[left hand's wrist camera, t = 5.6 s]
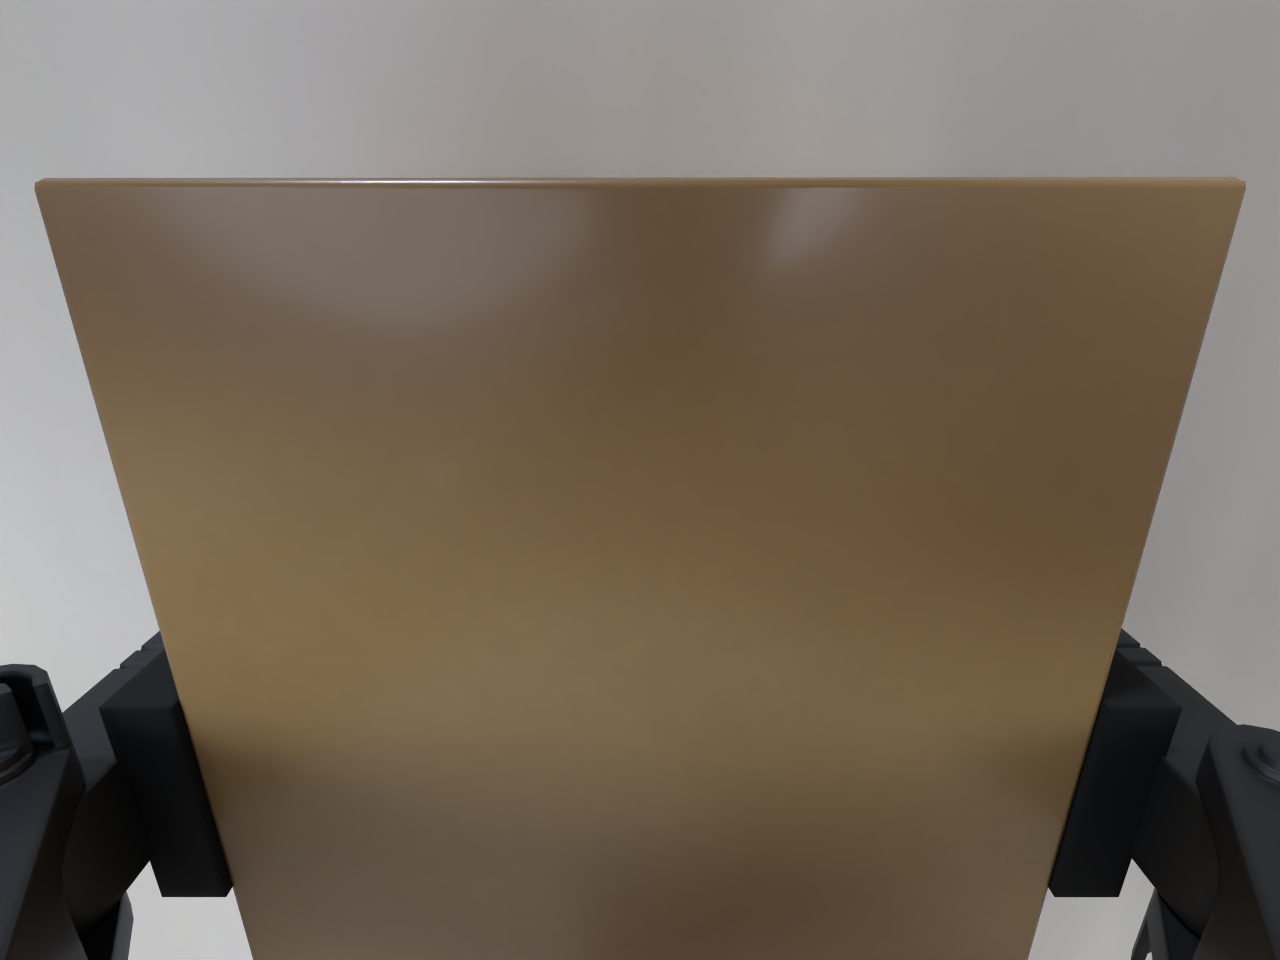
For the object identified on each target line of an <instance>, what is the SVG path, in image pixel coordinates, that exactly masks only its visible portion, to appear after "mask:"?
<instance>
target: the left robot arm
mask: <svg viewBox="0 0 1280 960" xmlns="http://www.w3.org/2000/svg"><path fill="white" fill-rule="evenodd" d="M1131 859H1133V860H1134V861H1135V863H1136V864H1137V865H1138V866H1139V868H1140V869H1141V870H1142V872H1143V873H1144V874H1145V875H1146V877H1147V878H1148V879H1149V881H1150V882H1151V883H1152V884H1153V886H1154V887H1155V889H1154V892H1153V895H1152V897H1151V900H1150V903H1149V906H1148V908H1147V911H1146V914H1145V917H1144V919H1143V922H1142V925H1141V928H1140V931H1139V933H1138V936H1137V939H1136V942H1135V944H1134V947H1133V950H1132V956H1131V960H1145V959H1146V956H1147V954H1148V953H1150V952H1152V959H1153V960H1280V732H1278V731H1275V730H1273V729H1267V728H1262V727H1256V726H1250V725H1236V724H1235V723H1234V722H1233V721H1232V720H1230V719H1229V718H1228V717H1227V716H1226V715H1224V714H1223V713H1222V712H1221V711H1220V710H1218V709H1217V708H1216V707H1215V706H1214V705H1213V704H1211V703H1210V702H1209V701H1208V700H1207V699H1205V698H1204V697H1203V696H1202V695H1201V694H1199V693H1198V692H1197V691H1196V690H1195V689H1193V688H1192V687H1191V686H1190V685H1189V684H1187V683H1186V682H1185V681H1184V680H1183V679H1181V678H1180V677H1179V676H1178V675H1177V674H1175V673H1174V672H1173V671H1172V670H1171V669H1170V668H1168V667H1167V666H1162V664H1161V661H1160V660H1159V659H1158V658H1156V657H1155V656H1154V655H1153V654H1152V653H1150V652H1149V651H1148V650H1147V649H1146V648H1140V643H1138V642H1137V641H1136V640H1135V639H1134V638H1132V637H1131V636H1130V635H1129V634H1128V633H1126V632H1125V631H1124V630H1123V629H1122V628H1121V631H1120V634H1119V638H1118V641H1117V645H1116V648H1115V652H1114V656H1113V659H1112V663H1111V666H1110V670H1109V673H1108V677H1107V680H1106V684H1105V687H1104V691H1103V694H1102V698H1101V701H1100V705H1099V709H1098V712H1097V716H1096V719H1095V723H1094V726H1093V730H1092V733H1091V737H1090V740H1089V744H1088V747H1087V751H1086V754H1085V758H1084V762H1083V765H1082V769H1081V772H1080V776H1079V779H1078V783H1077V786H1076V790H1075V793H1074V797H1073V800H1072V804H1071V808H1070V811H1069V815H1068V818H1067V822H1066V825H1065V829H1064V832H1063V836H1062V839H1061V843H1060V846H1059V850H1058V853H1057V857H1056V861H1055V864H1054V868H1053V871H1052V875H1051V878H1050V882H1049V885H1048V887H1049V889H1050V890H1051V892H1052V894H1053V895H1054V897H1119V894H1120V891H1121V888H1122V885H1123V882H1124V879H1125V876H1126V874H1127V871H1128V868H1129V865H1130V862H1131ZM149 861H150V862H151V865H152V868H153V871H154V874H155V877H156V880H157V883H158V886H159V889H160V892H161V895H162V897H226V896H227V895H228V893H229V891H230V890H231V888H232V887H233V886H232V883H231V879H230V876H229V872H228V868H227V865H226V861H225V858H224V854H223V851H222V847H221V844H220V840H219V837H218V833H217V830H216V826H215V823H214V819H213V816H212V812H211V809H210V805H209V802H208V798H207V795H206V791H205V788H204V784H203V780H202V777H201V773H200V770H199V766H198V763H197V759H196V756H195V752H194V749H193V745H192V742H191V738H190V735H189V731H188V728H187V724H186V721H185V717H184V714H183V710H182V707H181V703H180V700H179V696H178V692H177V689H176V685H175V682H174V678H173V675H172V671H171V668H170V664H169V661H168V657H167V654H166V650H165V647H164V643H163V640H162V636H161V633H160V631H159V632H158V633H157V634H155V635H154V636H153V637H152V638H151V639H149V640H148V641H147V642H146V643H145V644H144V645H142V649H141V651H135V652H134V653H133V654H132V655H131V656H129V657H128V658H127V659H126V660H125V661H123V662H122V663H121V664H120V668H119V669H114V670H113V671H112V672H110V673H109V674H108V675H107V676H106V677H104V678H103V679H102V680H101V681H100V682H99V683H97V684H96V685H95V686H94V687H93V688H91V689H90V690H89V691H88V692H87V693H85V694H84V695H83V696H82V697H81V698H80V699H78V700H77V701H76V702H75V703H74V704H72V705H71V706H70V707H69V708H68V709H66V710H65V711H64V712H63V713H62V712H61V709H60V706H59V704H58V701H57V698H56V695H55V692H54V690H53V687H52V684H51V681H50V679H49V676H48V673H47V671H45V670H43V669H41V668H39V667H37V666H35V665H24V664H9V665H2V666H0V960H128V954H129V947H130V940H131V933H132V926H133V913H132V907H131V903H130V900H129V897H128V895H127V892H126V890H127V889H128V888H129V887H130V885H131V884H132V883H133V881H134V880H135V879H136V878H137V876H138V875H139V874H140V872H141V871H142V870H143V868H144V867H145V866H146V865H147V863H148V862H149Z"/></svg>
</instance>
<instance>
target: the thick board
mask: <svg viewBox="0 0 1280 960" xmlns="http://www.w3.org/2000/svg"><path fill="white" fill-rule="evenodd" d="M1245 189H1246V187H1245V182H1244V181H1242V180H1240V179H1238V178H1236V177H1060V178H44V179H42V180H40V181H38V182H36V183H35V193H36V196H37V200H38V203H39V207H40V210H41V214H42V217H43V221H44V224H45V228H46V231H47V235H48V238H49V242H50V245H51V249H52V252H53V256H54V259H55V263H56V267H57V270H58V274H59V277H60V281H61V284H62V288H63V291H64V295H65V298H66V302H67V305H68V309H69V312H70V316H71V319H72V323H73V326H74V330H75V333H76V337H77V340H78V344H79V347H80V351H81V355H82V358H83V362H84V365H85V369H86V372H87V376H88V379H89V383H90V386H91V390H92V393H93V397H94V400H95V404H96V407H97V411H98V414H99V418H100V421H101V425H102V428H103V432H104V436H105V439H106V443H107V446H108V450H109V453H110V457H111V460H112V464H113V467H114V471H115V474H116V478H117V481H118V485H119V488H120V492H121V495H122V499H123V502H124V506H125V509H126V513H127V516H128V520H129V524H130V527H131V531H132V534H133V538H134V541H135V545H136V548H137V552H138V555H139V559H140V562H141V566H142V569H143V573H144V576H145V580H146V583H147V587H148V590H149V594H150V597H151V601H152V604H153V608H154V612H155V615H156V619H157V622H158V626H159V629H160V633H161V636H162V640H163V643H164V647H165V650H166V654H167V657H168V661H169V664H170V668H171V671H172V675H173V678H174V682H175V685H176V689H177V692H178V696H179V700H180V703H181V707H182V710H183V714H184V717H185V721H186V724H187V728H188V731H189V735H190V738H191V742H192V745H193V749H194V752H195V756H196V759H197V763H198V766H199V770H200V773H201V777H202V780H203V784H204V788H205V791H206V795H207V798H208V802H209V805H210V809H211V812H212V816H213V819H214V823H215V826H216V830H217V833H218V837H219V840H220V844H221V847H222V851H223V854H224V858H225V861H226V865H227V868H228V872H229V876H230V879H231V883H232V886H233V890H234V893H235V897H236V900H237V904H238V907H239V911H240V914H241V918H242V921H243V925H244V928H245V932H246V935H247V939H248V942H249V946H250V949H251V953H252V957H253V960H1028V956H1029V952H1030V949H1031V945H1032V942H1033V938H1034V935H1035V931H1036V928H1037V924H1038V921H1039V917H1040V914H1041V910H1042V906H1043V903H1044V899H1045V896H1046V892H1047V889H1048V885H1049V882H1050V878H1051V875H1052V871H1053V868H1054V864H1055V861H1056V857H1057V853H1058V850H1059V846H1060V843H1061V839H1062V836H1063V832H1064V829H1065V825H1066V822H1067V818H1068V815H1069V811H1070V808H1071V804H1072V800H1073V797H1074V793H1075V790H1076V786H1077V783H1078V779H1079V776H1080V772H1081V769H1082V765H1083V762H1084V758H1085V754H1086V751H1087V747H1088V744H1089V740H1090V737H1091V733H1092V730H1093V726H1094V723H1095V719H1096V716H1097V712H1098V709H1099V705H1100V701H1101V698H1102V694H1103V691H1104V687H1105V684H1106V680H1107V677H1108V673H1109V670H1110V666H1111V663H1112V659H1113V656H1114V652H1115V648H1116V645H1117V641H1118V638H1119V634H1120V631H1121V627H1122V624H1123V620H1124V617H1125V613H1126V610H1127V606H1128V602H1129V599H1130V595H1131V592H1132V588H1133V585H1134V581H1135V578H1136V574H1137V571H1138V567H1139V564H1140V560H1141V557H1142V553H1143V549H1144V546H1145V542H1146V539H1147V535H1148V532H1149V528H1150V525H1151V521H1152V518H1153V514H1154V511H1155V507H1156V504H1157V500H1158V496H1159V493H1160V489H1161V486H1162V482H1163V479H1164V475H1165V472H1166V468H1167V465H1168V461H1169V458H1170V454H1171V450H1172V447H1173V443H1174V440H1175V436H1176V433H1177V429H1178V426H1179V422H1180V419H1181V415H1182V412H1183V408H1184V405H1185V401H1186V397H1187V394H1188V390H1189V387H1190V383H1191V380H1192V376H1193V373H1194V369H1195V366H1196V362H1197V359H1198V355H1199V351H1200V348H1201V344H1202V341H1203V337H1204V334H1205V330H1206V327H1207V323H1208V320H1209V316H1210V313H1211V309H1212V306H1213V302H1214V298H1215V295H1216V291H1217V288H1218V284H1219V281H1220V277H1221V274H1222V270H1223V267H1224V263H1225V260H1226V256H1227V253H1228V249H1229V245H1230V242H1231V238H1232V235H1233V231H1234V228H1235V224H1236V221H1237V217H1238V214H1239V210H1240V207H1241V203H1242V199H1243V196H1244V192H1245Z"/></svg>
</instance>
